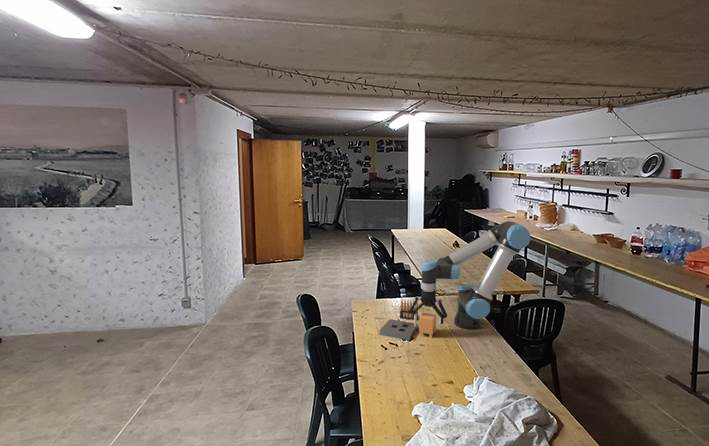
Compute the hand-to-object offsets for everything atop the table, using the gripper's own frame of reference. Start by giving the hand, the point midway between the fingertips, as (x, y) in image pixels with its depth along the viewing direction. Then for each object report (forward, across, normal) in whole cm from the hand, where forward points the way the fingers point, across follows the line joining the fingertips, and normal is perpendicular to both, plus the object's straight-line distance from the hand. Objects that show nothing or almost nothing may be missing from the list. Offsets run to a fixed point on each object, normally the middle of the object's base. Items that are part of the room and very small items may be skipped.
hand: (427, 327), depth 213 cm
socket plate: (+4, +15, +3) cm, 16 cm away
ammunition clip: (+4, +15, -16) cm, 22 cm away
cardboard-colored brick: (+4, 0, 0) cm, 4 cm away
